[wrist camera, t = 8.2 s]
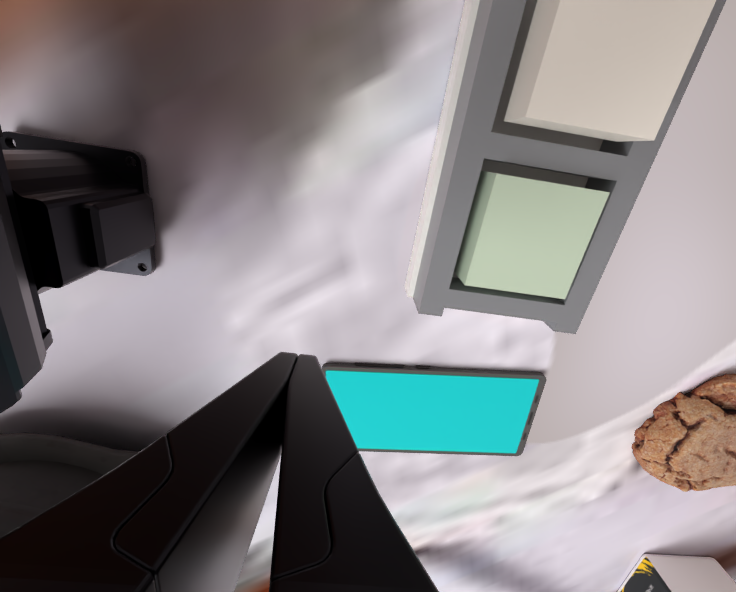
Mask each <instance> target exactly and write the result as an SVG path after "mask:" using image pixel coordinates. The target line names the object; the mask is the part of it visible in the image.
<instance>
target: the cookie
mask: <svg viewBox="0 0 736 592" xmlns="http://www.w3.org/2000/svg"><path fill="white" fill-rule="evenodd" d="M653 414H654V416H653V417H652V418H649V419H647V420H646V421H645V422H644V423H643V425H642V426H641V427H640V428H638V429H637V430H636V431H635V434H634V435H635V436H636V437H635V442H634V443H633V444H632V449H633V454H634V456H635V458H636V459H637V461H638V462H639V463H640V464H641V466H642V468H643V469H644V470H645V471H647V472H648V473H649V474H650V475H652V476H654V477H656V478H657V479H659V480H660V481H662V482H665V483H667V484H669V485H672V486H675V487H677V488H679V489H681V490H682V491H686V492H687V491H689V490H691V489H692V490H696V491H701V490H708V489H711V488H717V487H724V486H733V485H736V374H725V375H723V376H717V377H714V378H712V379H711V380H709V381H707V382H705V383H703V384H702V385H701V386H699V387H698V388H695V389H693V390H692V391H691V392H689V393H688V394H686V395H684V394H682V393H681V392H679V393H678V394H677V395H676V396H675V397H674V398H672V399H671V400H669V401H665V402H663V403H661V404H660V405H658V406H657V407H656V408H655V409H654V411H653Z"/></svg>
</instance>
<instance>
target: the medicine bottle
mask: <svg viewBox="0 0 736 592" xmlns="http://www.w3.org/2000/svg"><path fill="white" fill-rule="evenodd" d="M617 592H736V583H735V582H734V580H733V579H732V578H731V577H730V576H729V575H728V573H727V572H726V571H725V570H724V569H723V568H722V567H721V565H720V564H719V563H718V562H717V561H716V560H715V559H714V558H711V557H698V556H678V555H658V554H643V555H642V557H641V558H640V560H639V561H638V562H637V564H636V565H635V567H634V568H633V570H632V571H631V572H630V574H629V575H628V577H627V578H626V580H625V581H624V582H623V584H622V585H621V587H620V588H619V590H618V591H617Z"/></svg>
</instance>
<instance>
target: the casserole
mask: <svg viewBox="0 0 736 592" xmlns="http://www.w3.org/2000/svg"><path fill="white" fill-rule="evenodd" d="M137 453H138V451H127V450H117V449H112V448H108V447H103V446H99V445H95V444H91V443H87V442H82V441H78V440H74V439H69V438H65V437H61V436H55V435H45V434H34V433H11V434H0V538H2V537H3V536H5V535H7V534H8V533H10V532H12V531H13V530H15V529H17V528H18V527H20V526H22V525H23V524H25V523H27V522H28V521H30V520H32V519H33V518H35V517H37V516H38V515H40V514H42V513H43V512H45V511H46V510H48V509H50V508H51V507H53V506H55V505H56V504H58V503H60V502H61V501H63V500H65V499H66V498H68V497H70V496H71V495H73V494H75V493H76V492H78V491H80V490H81V489H83V488H84V487H86V486H88V485H89V484H91V483H92V482H94V481H96V480H97V479H99V478H100V477H102V476H104V475H105V474H107V473H108V472H110V471H112V470H113V469H115V468H116V467H118V466H119V465H121V464H122V463H124V462H125V461H127V460H128V459H130V458H131V457H133V456H134V455H135V454H137Z"/></svg>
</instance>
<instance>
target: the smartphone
mask: <svg viewBox="0 0 736 592" xmlns="http://www.w3.org/2000/svg"><path fill="white" fill-rule="evenodd" d="M322 370H323V373H324V375H325V377H326V379H327V382H328V384H329V386H330V388H331V390H332V393H333V395H334V397H335V399H336V402H337V404H338V406H339V408H340V411H341V413H342V415H343V417H344V419H345V422H346V424H347V426H348V428H349V431H350V433H351V435H352V437H353V440H354V442H355V444H356V446H357V448H358V451H372V452H404V453H436V454H467V455H499V456H519V455H521V454H522V453H523V450H524V447H525V444H526V441H527V437H528V434H529V431H530V428H531V425H532V422H533V419H534V416H535V413H536V410H537V407H538V404H539V401H540V398H541V395H542V392H543V389H544V386H545V382H546V377H545V376H544V375H543V374H542V373H541V372H523V371H500V370H477V369H454V368H431V367H430V366H416V367H408V366H404V365H390V364H367V363H355V364H339V363H325V364H324V365H323V366H322Z"/></svg>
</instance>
